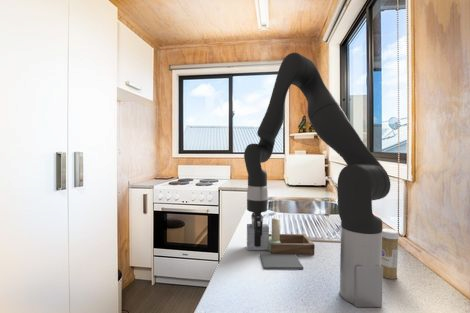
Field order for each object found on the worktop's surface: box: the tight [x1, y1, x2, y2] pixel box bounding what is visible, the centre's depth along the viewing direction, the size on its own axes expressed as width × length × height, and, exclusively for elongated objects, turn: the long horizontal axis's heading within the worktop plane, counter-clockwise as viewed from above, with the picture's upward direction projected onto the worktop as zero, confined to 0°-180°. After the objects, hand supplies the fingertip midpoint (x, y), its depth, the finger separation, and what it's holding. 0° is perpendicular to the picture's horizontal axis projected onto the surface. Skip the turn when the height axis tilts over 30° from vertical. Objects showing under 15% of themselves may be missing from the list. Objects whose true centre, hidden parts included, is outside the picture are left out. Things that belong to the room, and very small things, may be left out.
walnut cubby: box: [269, 233, 316, 256], centre depth 97 cm, size 11×15×4 cm
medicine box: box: [246, 223, 270, 251], centre depth 96 cm, size 8×4×9 cm, turn 91°
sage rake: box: [268, 217, 281, 252], centre depth 97 cm, size 7×4×11 cm, turn 1°
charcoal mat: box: [260, 253, 304, 270], centre depth 85 cm, size 10×12×1 cm
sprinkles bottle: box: [381, 228, 400, 280], centre depth 76 cm, size 5×5×14 cm
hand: (256, 243), depth 97 cm, fingers closed on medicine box, 4 cm apart
